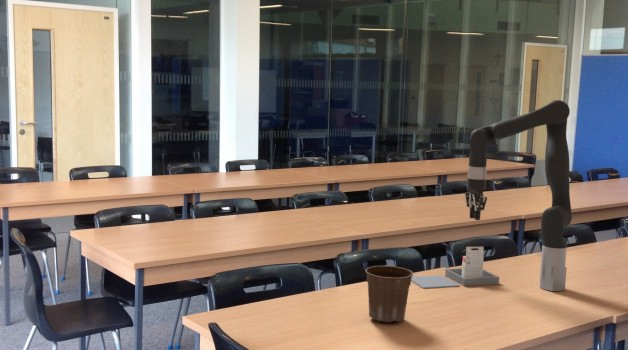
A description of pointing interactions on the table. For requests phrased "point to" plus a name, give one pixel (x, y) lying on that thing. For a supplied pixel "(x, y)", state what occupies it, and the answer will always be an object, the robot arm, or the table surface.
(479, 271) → the ink box
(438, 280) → the slate mat
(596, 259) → the table surface
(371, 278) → the plant pot
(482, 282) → the desk holder
